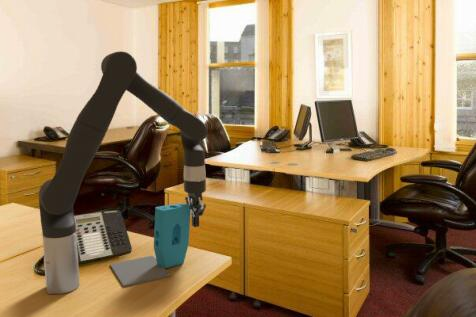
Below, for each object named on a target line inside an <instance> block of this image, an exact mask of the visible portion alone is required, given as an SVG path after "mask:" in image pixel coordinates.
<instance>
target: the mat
mask: <svg viewBox="0 0 476 317" xmlns="http://www.w3.org/2000/svg"><path fill="white" fill-rule="evenodd" d="M109 267H110V268H111V269H112V271H113V272H114V274H115V275H116V277H117V279H118V280H119V282H120V284H121V286H122V287H123V288H126V287H130V286H135V285H139V284H143V283H144V284H145V283H148V282H152V281H156V280H161V279H166V278H170V277H171V274H170V273H169V271H168V270H167V269H166V268H163V267H161V266H159V265H158V264H157V260H156V257H155V255H149V256H143V257H139V258H138V257H137V258H134V259H133V258H132V259H128V260H123V261H118V262H114V263H113V262H112V263H109Z"/></svg>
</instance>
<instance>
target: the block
mask: <svg viewBox="0 0 476 317" xmlns="http://www.w3.org/2000/svg"><path fill="white" fill-rule="evenodd" d="M154 210H155V212H154V230H153V232H154V233H153V251H154V256H155V259H156V260H157V264H158V265H159V266H161V267H163V268H165V269H167V268H171V267H176V266H179V265H183V264H184V263H185V260H186V256H187V252H188V248H189V244H190V230H191V229H190V228H191V227H190V226H191V213H190V211H191V206H190V205H187V204H186V203H184V202H183V203H182V202H181V203H175V204H167V205H161V206H156V207H155V209H154Z"/></svg>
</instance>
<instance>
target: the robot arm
mask: <svg viewBox="0 0 476 317" xmlns="http://www.w3.org/2000/svg"><path fill="white" fill-rule="evenodd" d="M100 70H101V73H102V76H101V77H100V78H101V79H100V81H99V84H98V86H97V88H96V89H95V91H94V93H93V94H92V96H91V97H90V98H89V99H88V101H87V102H86V103H85V104H84V106H83V108H81V110H80V112H79V113H78V116H77V117H76V119H75V121H74V123H73V125H72V127H71V129H70V132H69V134H68V136H67V140H66V142H65V143H66V144H65V146H64V149H63V150H64V151H63V155H62V159H61V162H60V164H59V166H58V168H57V170H56V171H55V174H54V176H53V177H52V178H51V179H48V180H46V181H45V182H44V183H43V184H42V185H41V186H40V187H39V190H38V203H39V204H38V206H39V214H40V215H39V216H40V225H41V233H42V245H43V264H44V276H45V287H46V288H45V289H46V292H47V295H51V294H54V295H60V294H67V293H70V292H72V291H75V290H77V288H79V286H80V270H79V269H80V268H79V254H78V243H77V242H78V240H77V225H76V224H77V223H76V220H75V213H74V204H75V202H76V199H77V197H78V193H79V190H80V188H81V184H82V182H83V180H84V177H85V175H86V172H87V170H88V169H89V167H90V165H91V163H92V162H93V159H94V158H95V156H96V154H97V152H98V151H99V148H100V146H101V144H102V143H103V140H104V138H105V136H106V135H107V132H108V130H109V128H110V126H111V123H112V120H113V118H114V116H115V114H116V111H117V109H118V106H119V103H120V101H121V100H122V98H123V96H124V94H125V93H126V91H127V92H128V93H130V94H131V95H133V96H135V97H136V98H137V99H138V100H140V101H141V102H142V103H143V104H145V105H146V106H147V107H148V108H149V109H151V110H152V111H153V112H154V113H155V114H157V115H158V116H159V117H161V119H163V120H164V121H166V122H167V124H170V126H173V127H175V128H177V129H178V130H180V139H181V146H182V149H183V190H184V192H185V193H187V196H185V197H184V199H185V204H187V205H190V206H191V211H190V217H191V226H192V227H193V228H197V227H200V217H202V216H203V214H204V212H205V209H206V207H207V205H206V203H203V193H205V192H206V190H207V185H206V184H207V181H206V179H207V178H206V176H207V175H206V163H205V162H206V161H205V160H206V159H205V156H206V155H205V149H204V148H203V147H202V145H201V142H202V141H204V140H205V139H206V137H207V135H208V127H207V125H206V124H205V123H204V121H202V120H201V119H200V118H198V117H197V116H196V115H194V114H193V113H191V112H189V111H188V110H186V109H185V108H184V107H183V106H182V105H181V104H179V102H178V101H176V100H175V99H174V98H173V97H172V96H171V95H169V94H167V93H166V92H165V91H163V90H161V89H159V88H158V87H156V86H155V85H153V84H152V83H150V82H149V81H148V80H146V79H145V78H144V77H143V76H141V75H140V73H139V72H138V65H137V61H136V58H135V57H134V56H133V55H132V53H129V52H127V51H123V50H121V51H114V52H112V53H108V55H106V56H105V57H104V58H103V59H102V61H101V63H100Z"/></svg>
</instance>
